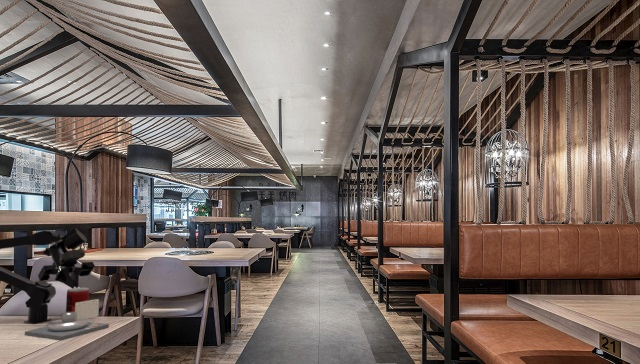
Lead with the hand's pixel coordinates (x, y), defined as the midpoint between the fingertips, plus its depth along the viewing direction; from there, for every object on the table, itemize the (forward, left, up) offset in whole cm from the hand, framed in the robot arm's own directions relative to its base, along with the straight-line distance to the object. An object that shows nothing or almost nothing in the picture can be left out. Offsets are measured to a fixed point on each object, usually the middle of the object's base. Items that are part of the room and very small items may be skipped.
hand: (75, 287), depth 158 cm
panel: (+7, -8, -14) cm, 17 cm away
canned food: (-12, +10, -14) cm, 21 cm away
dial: (+7, -5, -12) cm, 15 cm away
